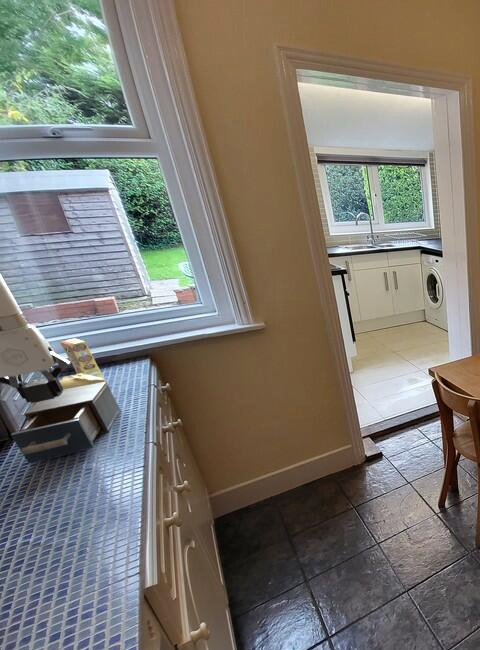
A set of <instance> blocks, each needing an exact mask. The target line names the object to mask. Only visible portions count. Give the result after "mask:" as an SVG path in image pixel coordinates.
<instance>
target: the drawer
mask: <svg viewBox="0 0 480 650" xmlns="http://www.w3.org/2000/svg"><path fill="white" fill-rule="evenodd" d="M101 427H102V426H101V424H100V422H99V420H98V419H97V417H96V415H95V413H94V411H93V409H92V407H91V406H90V403H89V404H84V405H80V406H75V407H70V408H65V409H60V410H56V411H51V412H46V413H41V414H36V415H35V416H34V417H33V418H32V419H31V420H30V421H28V422H26V424H25V425H24V426H22V428H21V429H19V431H15V432H12V433H11V434H10V436H11V438H12V439H13V441H14V443H15V444H16V446H17V447H18V449H19V450H20V452H21V453H22V456H23V457H24V458H25V460H26V461H27V463H28V464H32V463H36V462H42V461H45V460H49V459H53V458H57V457H60V456H65V455H69V454H73V453H77V452H81V451H85V450H90V449H93V448H94V447H95V444H94V440H95V438H97V435H99V434H98V432H99V431H100V429H101Z"/></svg>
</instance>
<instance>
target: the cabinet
mask: <svg viewBox="0 0 480 650" xmlns="http://www.w3.org/2000/svg"><path fill="white" fill-rule="evenodd" d="M62 392H63V393H62V394H61V395H60V396H58V397H55V398H54V399H49V400H45V401H40V402H35V403H33V405H32V406H31V407H30V408H28V410H26V411H25V412H24V413H23V414H24V416H25V418H26V420H27V421H28V422H29V421H30V420H31V419H32V418H33V417H34V416H35V415H36V414H41V413H46V412H51V411H56V410H60V409H65V408H70V407H75V406H80V405H84V404H89V403H90V406H91V407H92V409H93V411H94V413H95V415H96V417H97V419H98V420H99V422H100V424H101V426H102V427H101V429H100V431H99V432H98V434H97V435H100V434H105V433H109V432H110V430H111V428H112V427H113V425H114V424H115V422H116V420H117V418H118V416H119V414H120V413H121V408H120V407H119V404H118V402H117V401H116V398H115V397H114V395H113V393H112V390H111V388H110V386H109V385H108V383H107V381H106V382H101V383H96V384H91V385H85V386H80V387H75V388H70V389H65V390H63V391H62Z"/></svg>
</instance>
